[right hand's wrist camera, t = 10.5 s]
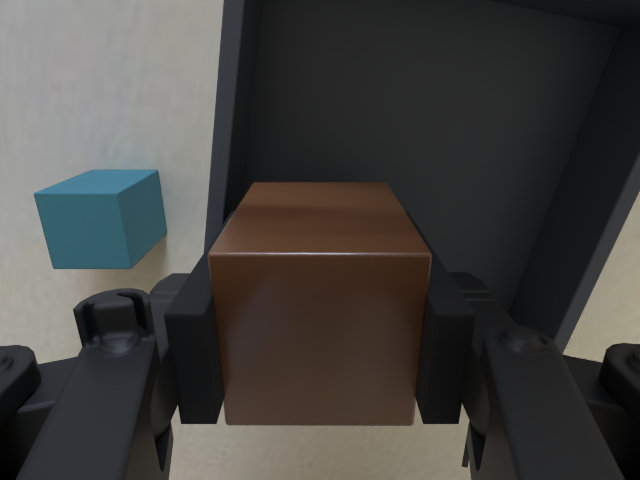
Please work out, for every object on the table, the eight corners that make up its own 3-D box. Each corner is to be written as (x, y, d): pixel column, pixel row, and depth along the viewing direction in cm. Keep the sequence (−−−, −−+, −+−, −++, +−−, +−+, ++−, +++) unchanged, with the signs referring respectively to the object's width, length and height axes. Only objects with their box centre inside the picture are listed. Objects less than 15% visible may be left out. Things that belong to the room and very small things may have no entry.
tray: (504, 331, 21) (558, 405, 16) (220, 287, 20) (189, 352, 15) (786, -372, 12) (1088, -662, 7) (299, -508, 11) (284, -941, 6)
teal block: (167, 232, 29) (131, 269, 24) (103, 232, 29) (52, 269, 24) (158, 169, 28) (117, 192, 22) (90, 169, 28) (32, 192, 22)
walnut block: (380, 300, 15) (414, 427, 10) (259, 300, 15) (225, 426, 10) (387, 181, 14) (433, 253, 8) (252, 181, 14) (206, 253, 8)
